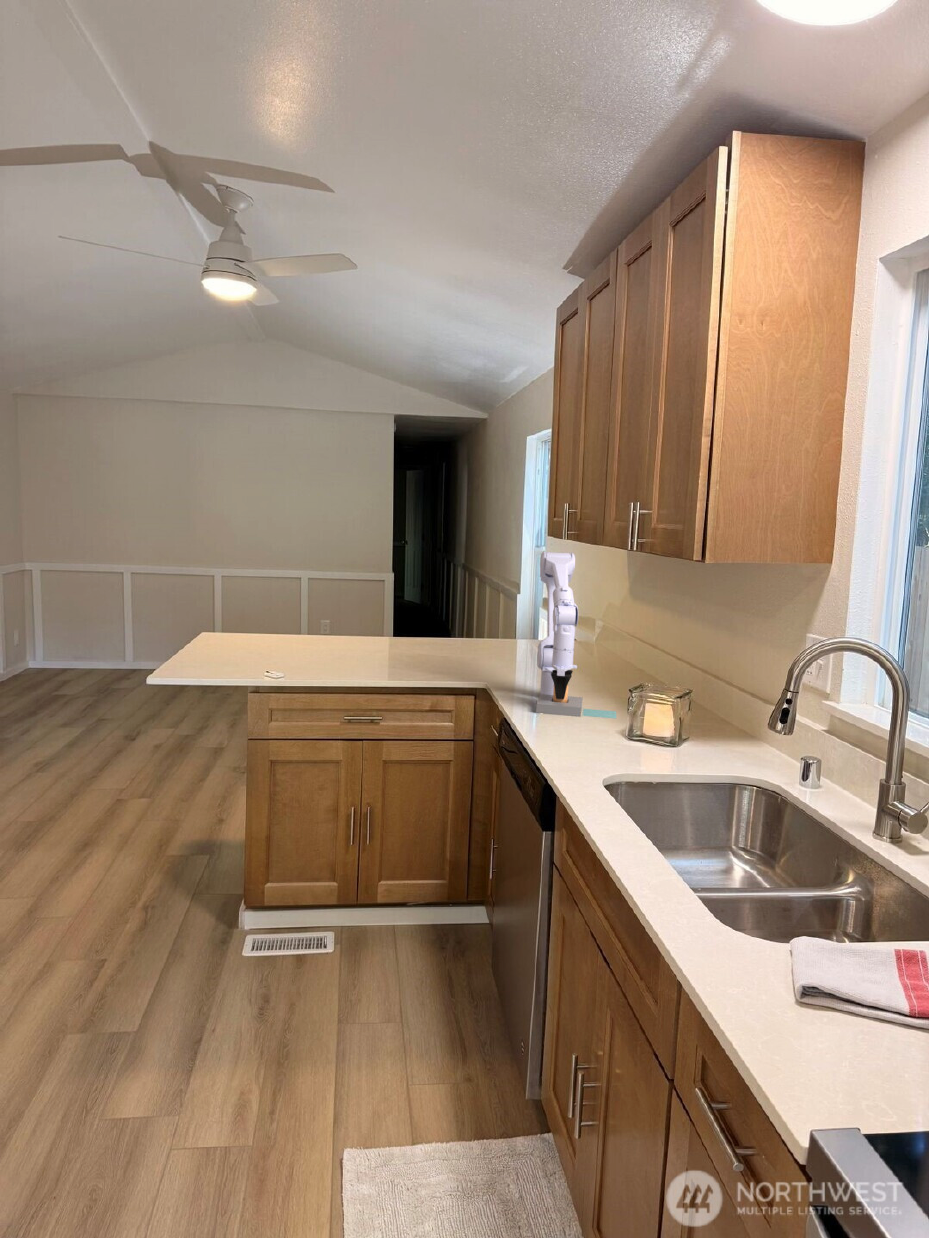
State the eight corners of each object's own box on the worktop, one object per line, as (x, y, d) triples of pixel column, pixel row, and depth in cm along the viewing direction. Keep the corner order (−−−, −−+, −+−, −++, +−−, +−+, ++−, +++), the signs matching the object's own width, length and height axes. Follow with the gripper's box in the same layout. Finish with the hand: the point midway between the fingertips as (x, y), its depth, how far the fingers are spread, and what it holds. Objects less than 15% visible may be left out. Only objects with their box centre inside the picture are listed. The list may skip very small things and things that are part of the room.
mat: (583, 710, 238) (583, 708, 238) (615, 713, 237) (616, 711, 237) (582, 717, 229) (582, 715, 229) (616, 720, 228) (616, 718, 228)
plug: (552, 707, 238) (554, 682, 237) (567, 708, 237) (568, 683, 237) (552, 710, 234) (553, 685, 233) (566, 711, 233) (568, 686, 233)
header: (539, 704, 244) (540, 693, 243) (581, 707, 242) (582, 697, 241) (535, 714, 230) (536, 703, 230) (580, 718, 228) (581, 707, 228)
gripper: (577, 653, 226) (573, 703, 228) (578, 646, 240) (575, 693, 242) (550, 651, 227) (547, 701, 229) (553, 644, 241) (551, 691, 243)
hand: (560, 697), depth 235 cm, fingers closed on plug, 4 cm apart
